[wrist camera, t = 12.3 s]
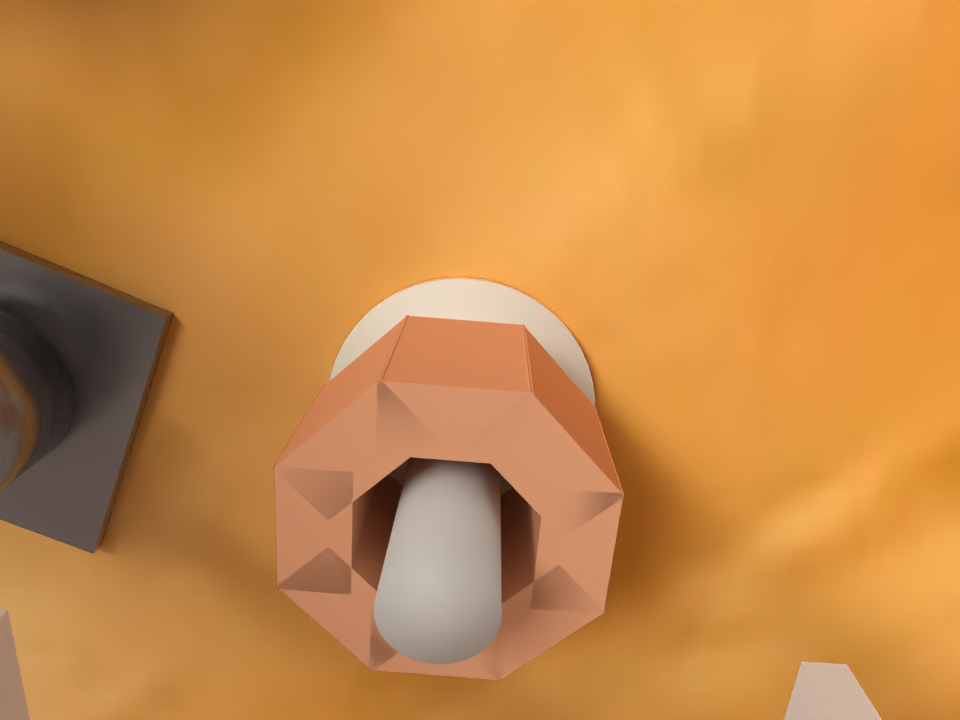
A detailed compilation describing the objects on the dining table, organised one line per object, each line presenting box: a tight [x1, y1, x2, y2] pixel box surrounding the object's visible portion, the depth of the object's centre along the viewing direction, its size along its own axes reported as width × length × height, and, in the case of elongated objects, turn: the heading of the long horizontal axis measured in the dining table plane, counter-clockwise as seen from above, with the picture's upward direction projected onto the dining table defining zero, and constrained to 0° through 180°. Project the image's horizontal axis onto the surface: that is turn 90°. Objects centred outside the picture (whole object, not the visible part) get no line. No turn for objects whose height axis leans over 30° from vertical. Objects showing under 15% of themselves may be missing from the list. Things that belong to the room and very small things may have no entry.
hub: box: [330, 277, 595, 664], centre depth 19 cm, size 9×9×10 cm
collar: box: [273, 315, 625, 681], centre depth 19 cm, size 8×8×5 cm
